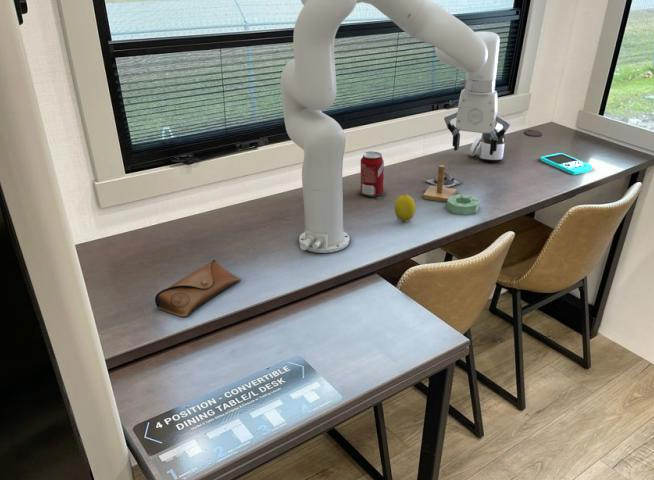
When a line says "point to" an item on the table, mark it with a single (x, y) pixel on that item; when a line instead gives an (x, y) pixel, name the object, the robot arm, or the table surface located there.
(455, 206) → the ring
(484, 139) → the spread jar
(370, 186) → the soda can
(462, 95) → the robot arm
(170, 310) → the sunglasses case
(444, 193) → the post
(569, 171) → the handheld game console
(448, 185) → the donut
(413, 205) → the lemon
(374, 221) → the table surface
